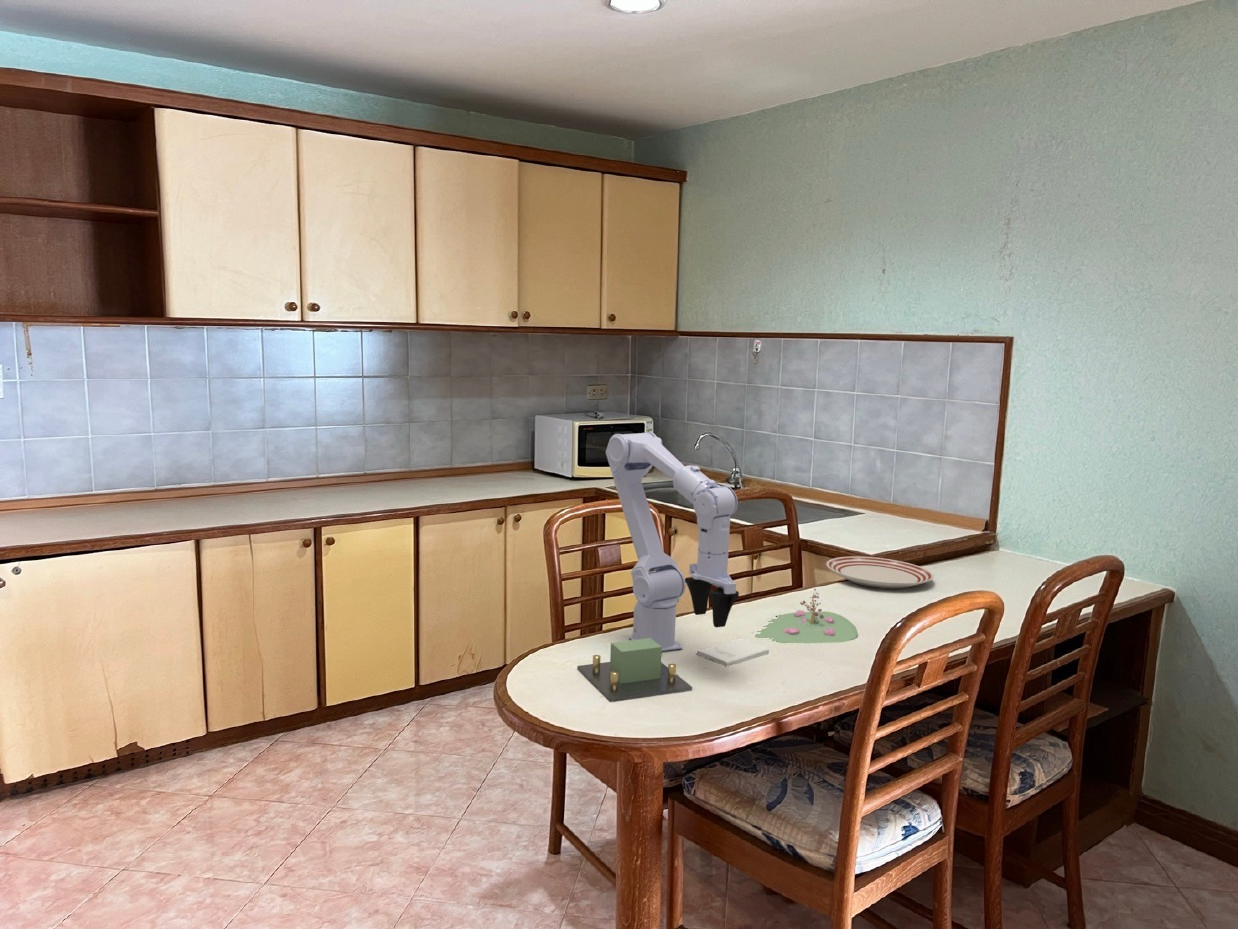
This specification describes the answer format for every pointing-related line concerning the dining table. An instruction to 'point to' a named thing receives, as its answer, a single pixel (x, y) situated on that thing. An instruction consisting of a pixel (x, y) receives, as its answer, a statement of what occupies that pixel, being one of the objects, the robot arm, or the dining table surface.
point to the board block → (636, 660)
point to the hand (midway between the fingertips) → (709, 620)
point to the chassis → (624, 691)
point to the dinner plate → (879, 572)
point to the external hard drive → (733, 651)
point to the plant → (809, 627)
